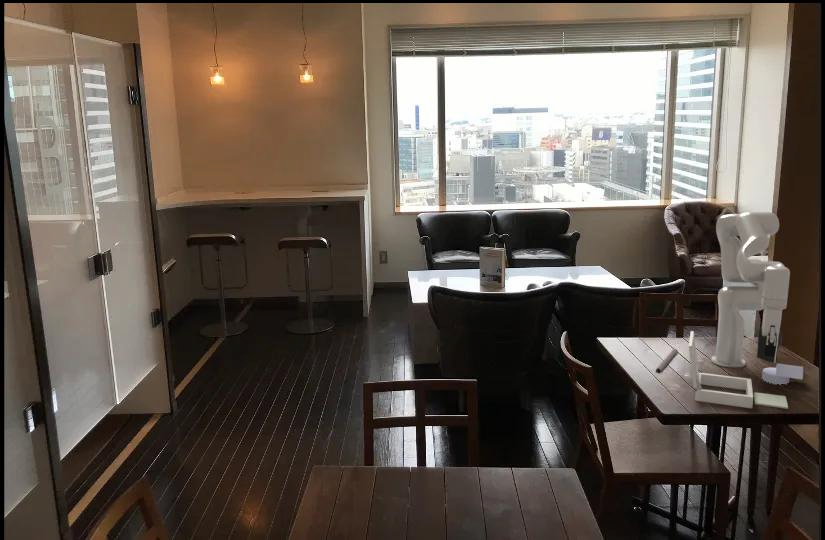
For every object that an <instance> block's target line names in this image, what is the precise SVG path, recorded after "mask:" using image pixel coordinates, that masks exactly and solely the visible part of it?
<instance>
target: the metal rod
mask: <svg viewBox="0 0 825 540" xmlns="http://www.w3.org/2000/svg"><path fill="white" fill-rule="evenodd" d="M677 353H678V349H677V348H673V349H672V350H671V351H670V353H669V354H668V355H667V356H666V357H665V358H664V360H663V361H662V362H661V363H660V364H659V365H658V366H657V368H656V369H655V372H656V373H661V372H662V371H663V370H664V369H665V368H666V366H667V365H668V364H669V363H671V361H672V360H673V358H674V357H675V356H676V355H677Z"/></svg>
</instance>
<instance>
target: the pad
mask: <svg viewBox="0 0 825 540" xmlns="http://www.w3.org/2000/svg"><path fill="white" fill-rule="evenodd" d="M786 397H787V396H785V395H777V394H771V393H763V392H755V391H753V401H754V405H757V406H765V407H773V408H779V409H789V406H788V401H787V398H786Z"/></svg>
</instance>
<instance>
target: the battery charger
mask: <svg viewBox="0 0 825 540" xmlns="http://www.w3.org/2000/svg"><path fill="white" fill-rule="evenodd" d="M776 335H777V334H776ZM768 336H770V334H768ZM774 336H775V334H774ZM757 339H758V340H757V350H756V358H757V359H760V360H762V361H765V362H768V363H771V364H775V363H778V361H779V360H778V351H779V346H781V345H782V341H783V340H782V339H783V332H782V331H781V330H780V331H779V336H778V337H777V338H776V352H775V357H770V356H765V355H764V352H765V344H766V341H767V336H763V335H762V327H760V329H759V331H758V337H757ZM769 339H770V338H769ZM769 339H768V340H769Z"/></svg>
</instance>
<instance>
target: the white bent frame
mask: <svg viewBox="0 0 825 540" xmlns="http://www.w3.org/2000/svg"><path fill="white" fill-rule="evenodd" d="M688 341H689V342H688V353H689V359H690V367H691V376H692V383H693V391H694V392H695V393H694V394H695V396H694V401H695V402H703V403H710V404H716V405H718V404H719V405H724V406H731V407H732V406H733V407H738V408H739V407H740V408H748V409H753V405H754V402H753V401H754V391H753V385H752V378H747V377H740V376H739V377H737V376H730V375H729V376H728V375H721V374H715V373H714V374H713V373H706V372H699V364H698V357H697V355H698V354H697V348H696V341H695V331H694V330H690V335H689V339H688ZM702 385H705V386H710V387H719V388H726V389H728V388H729V389H734V390H743V391H745V393H746V394H740V393H733V392H725V391H717V390H711V389H704V388H703V389H702Z"/></svg>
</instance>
